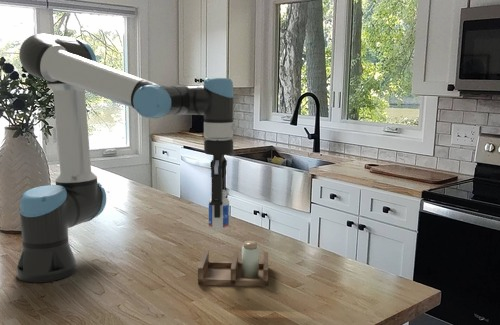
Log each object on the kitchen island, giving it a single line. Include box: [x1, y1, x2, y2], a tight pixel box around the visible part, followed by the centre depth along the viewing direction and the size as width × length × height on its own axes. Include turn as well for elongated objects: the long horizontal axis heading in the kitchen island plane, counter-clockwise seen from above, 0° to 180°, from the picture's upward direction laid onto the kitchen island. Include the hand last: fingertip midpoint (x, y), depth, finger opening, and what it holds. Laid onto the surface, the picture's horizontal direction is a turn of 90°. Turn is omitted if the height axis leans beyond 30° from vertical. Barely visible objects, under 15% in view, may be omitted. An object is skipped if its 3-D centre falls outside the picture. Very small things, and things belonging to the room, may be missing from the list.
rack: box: [197, 250, 269, 287], centre depth 130 cm, size 18×13×6 cm
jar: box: [241, 240, 260, 279], centre depth 130 cm, size 5×5×9 cm
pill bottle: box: [207, 189, 230, 230], centre depth 128 cm, size 6×5×10 cm
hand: (218, 225), depth 128 cm, fingers closed on pill bottle, 5 cm apart
